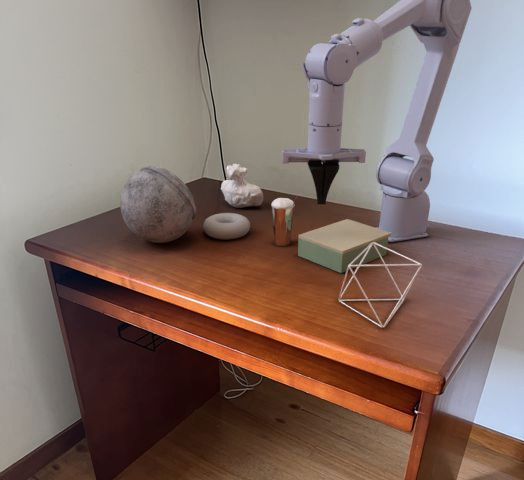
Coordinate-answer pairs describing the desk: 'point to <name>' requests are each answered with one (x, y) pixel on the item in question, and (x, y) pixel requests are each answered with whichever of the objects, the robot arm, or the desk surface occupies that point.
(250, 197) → the white lumpy piece
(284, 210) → the milkshake
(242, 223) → the donut
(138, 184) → the decorative orb
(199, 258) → the desk surface
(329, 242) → the lunchbox lid
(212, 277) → the desk surface
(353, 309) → the geometric polyhedron
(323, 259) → the lunchbox
